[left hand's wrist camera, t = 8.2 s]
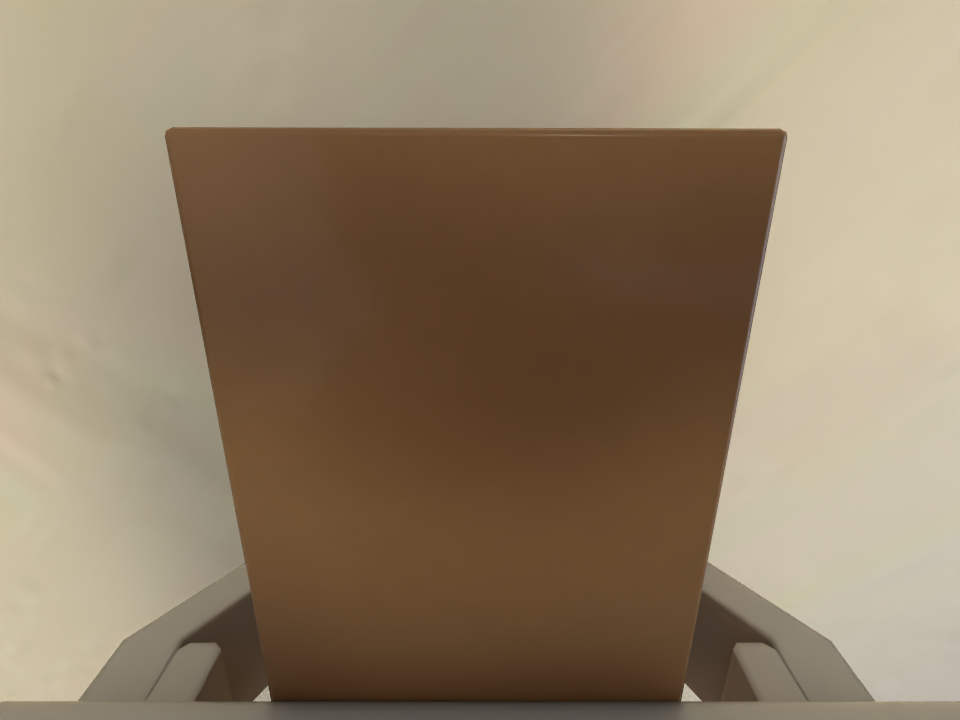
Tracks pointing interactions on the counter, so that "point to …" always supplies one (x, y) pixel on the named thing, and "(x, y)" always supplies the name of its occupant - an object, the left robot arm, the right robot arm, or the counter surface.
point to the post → (476, 394)
